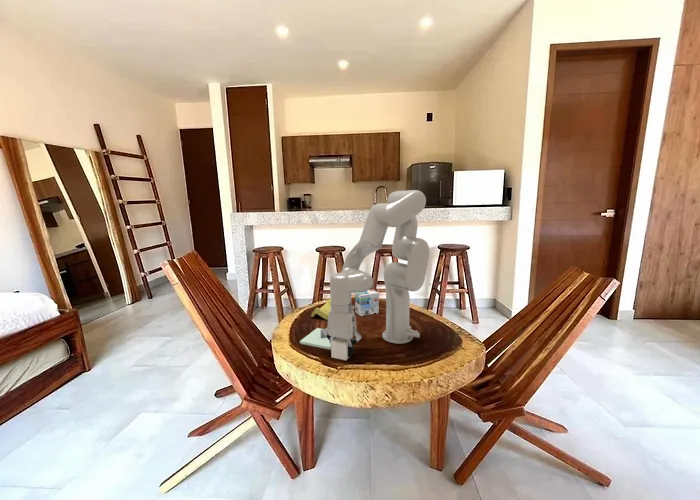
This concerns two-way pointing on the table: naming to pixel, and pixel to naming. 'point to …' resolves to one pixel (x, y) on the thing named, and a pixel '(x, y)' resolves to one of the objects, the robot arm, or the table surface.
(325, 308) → the plastic component
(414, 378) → the table surface
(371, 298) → the light bulb box
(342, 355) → the off-white plain cube
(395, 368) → the table surface
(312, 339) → the stub plate
